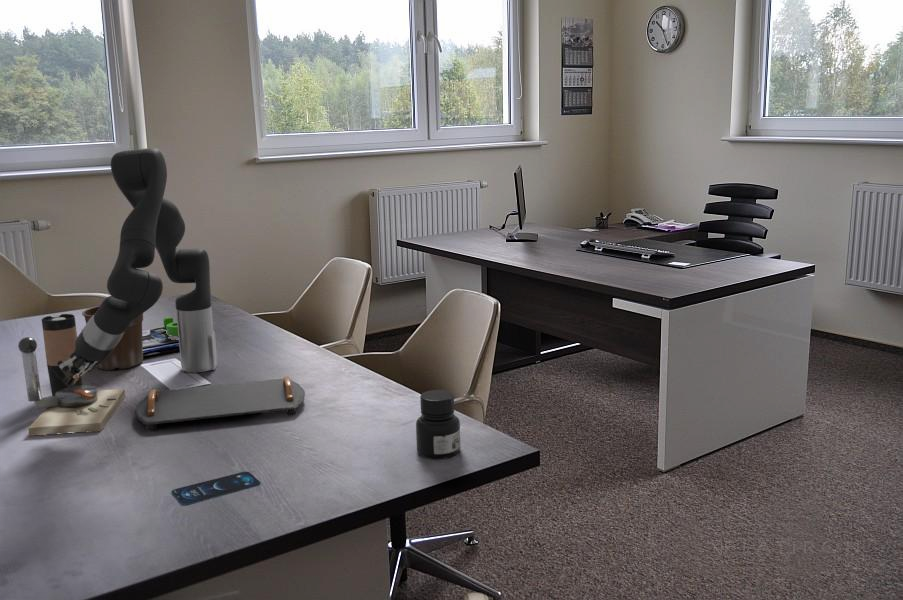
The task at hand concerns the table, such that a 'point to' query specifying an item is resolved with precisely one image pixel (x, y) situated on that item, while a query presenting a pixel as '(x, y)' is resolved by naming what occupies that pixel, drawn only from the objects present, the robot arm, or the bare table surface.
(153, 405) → the serving board
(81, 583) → the table surface
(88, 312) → the plant pot
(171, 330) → the tape dispenser
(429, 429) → the ink bottle
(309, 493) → the table surface
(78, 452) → the table surface
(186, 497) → the smartphone
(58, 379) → the travel mug
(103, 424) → the flat beige board
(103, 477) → the table surface
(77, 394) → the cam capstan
